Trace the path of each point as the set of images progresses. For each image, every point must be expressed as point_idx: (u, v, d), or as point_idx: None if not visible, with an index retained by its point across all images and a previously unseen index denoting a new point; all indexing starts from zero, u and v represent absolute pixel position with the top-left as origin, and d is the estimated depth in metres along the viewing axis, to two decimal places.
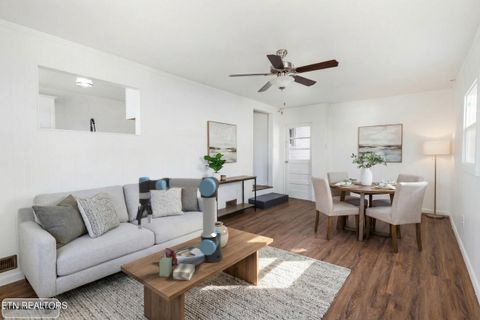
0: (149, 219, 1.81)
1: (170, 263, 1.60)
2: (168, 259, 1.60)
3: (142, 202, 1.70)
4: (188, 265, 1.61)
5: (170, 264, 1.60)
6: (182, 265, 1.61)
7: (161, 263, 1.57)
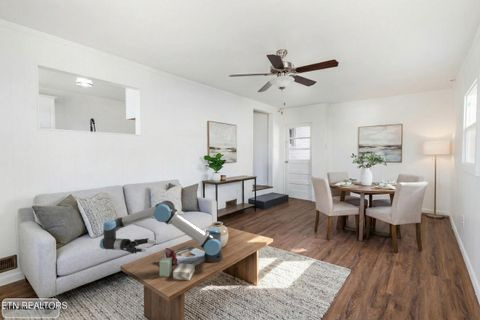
0: (152, 241, 1.67)
1: (170, 263, 1.60)
2: (168, 259, 1.60)
3: (123, 246, 1.59)
4: (188, 265, 1.61)
5: (170, 264, 1.60)
6: (182, 265, 1.61)
7: (161, 263, 1.57)
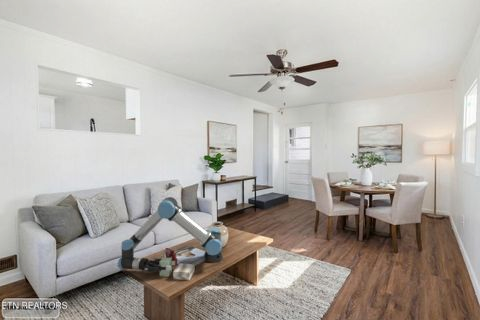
0: None
1: (170, 263, 1.60)
2: (168, 259, 1.60)
3: (141, 266, 1.58)
4: (188, 265, 1.61)
5: (170, 264, 1.60)
6: (182, 265, 1.61)
7: (161, 263, 1.57)
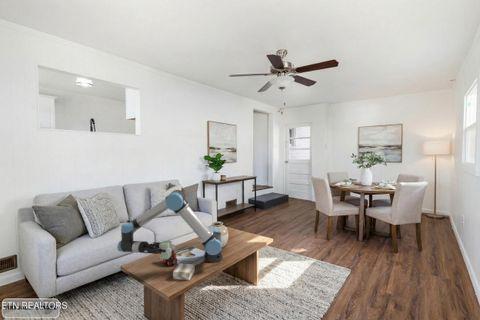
0: None
1: (170, 246, 1.60)
2: (168, 242, 1.59)
3: (141, 248, 1.57)
4: (188, 265, 1.61)
5: (170, 247, 1.60)
6: (182, 265, 1.61)
7: (161, 246, 1.56)
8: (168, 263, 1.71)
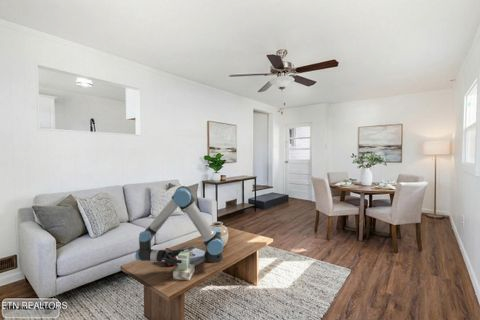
0: None
1: (188, 257, 1.58)
2: (186, 253, 1.58)
3: (159, 257, 1.56)
4: None
5: (188, 258, 1.58)
6: None
7: (179, 257, 1.55)
8: None
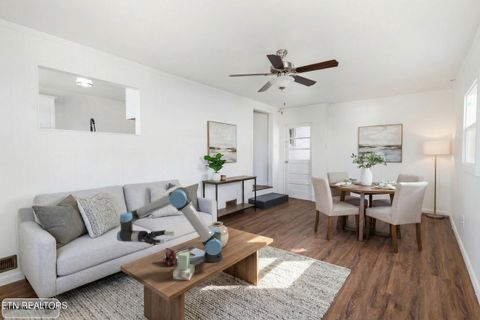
0: (169, 233, 1.65)
1: (188, 257, 1.58)
2: (186, 253, 1.58)
3: (140, 237, 1.57)
4: None
5: (188, 258, 1.58)
6: None
7: (179, 257, 1.55)
8: (168, 263, 1.71)
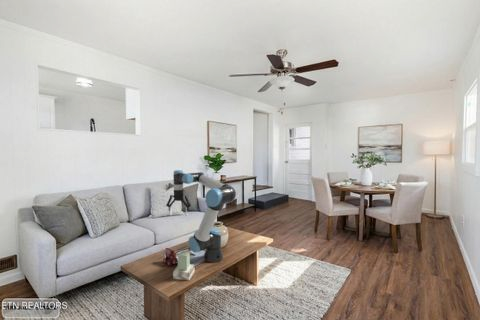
0: None
1: (188, 257, 1.58)
2: (186, 253, 1.58)
3: None
4: None
5: (188, 258, 1.58)
6: None
7: (179, 257, 1.55)
8: (168, 263, 1.71)
